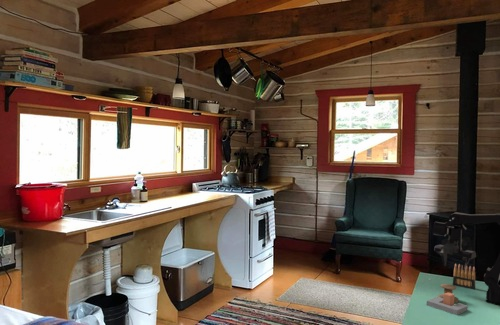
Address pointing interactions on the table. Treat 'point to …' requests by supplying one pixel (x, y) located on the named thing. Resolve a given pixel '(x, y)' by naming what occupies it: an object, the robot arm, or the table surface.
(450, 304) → the tab
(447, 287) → the brown door knob
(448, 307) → the notched board
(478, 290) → the table surface
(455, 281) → the ammunition clip
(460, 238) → the robot arm
